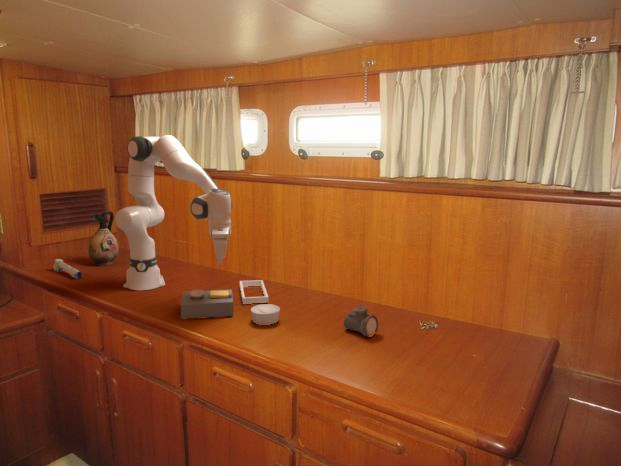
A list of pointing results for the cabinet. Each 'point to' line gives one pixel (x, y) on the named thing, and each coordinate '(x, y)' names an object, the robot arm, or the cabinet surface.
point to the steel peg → (197, 294)
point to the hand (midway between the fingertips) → (220, 263)
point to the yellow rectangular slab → (221, 294)
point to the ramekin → (265, 314)
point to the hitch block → (206, 306)
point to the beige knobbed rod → (67, 269)
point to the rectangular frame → (253, 299)
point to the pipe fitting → (361, 321)
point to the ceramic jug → (103, 241)
